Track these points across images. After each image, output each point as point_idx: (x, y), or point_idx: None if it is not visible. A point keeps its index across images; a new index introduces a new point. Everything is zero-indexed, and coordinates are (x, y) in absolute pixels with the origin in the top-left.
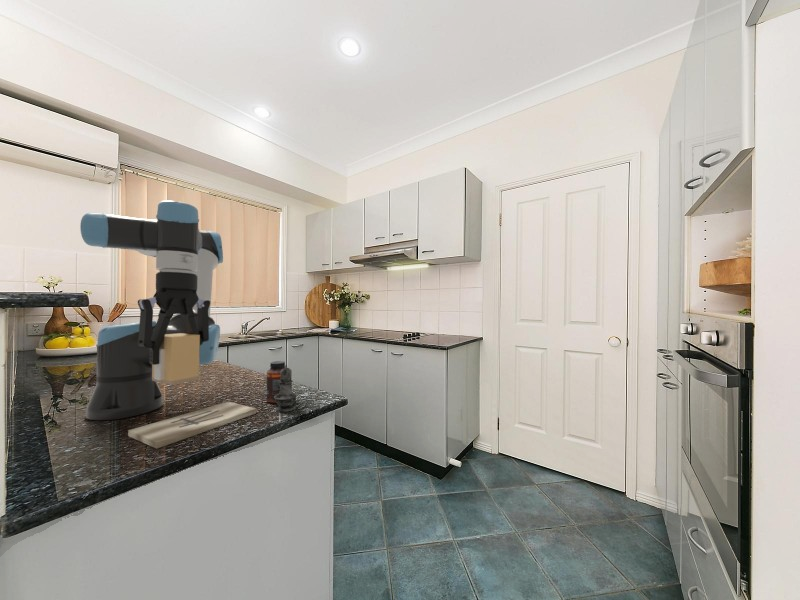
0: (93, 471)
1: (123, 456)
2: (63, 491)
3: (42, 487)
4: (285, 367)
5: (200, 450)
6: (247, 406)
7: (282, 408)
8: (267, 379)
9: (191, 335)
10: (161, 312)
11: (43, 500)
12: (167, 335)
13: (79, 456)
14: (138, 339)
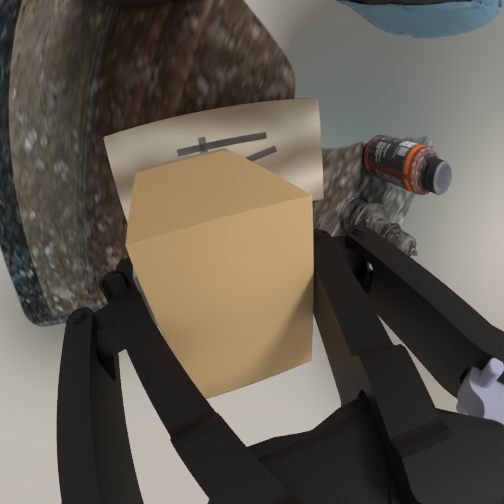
0: (66, 267)
1: (94, 240)
2: (50, 299)
3: (27, 273)
4: (411, 252)
5: None
6: (322, 170)
7: (350, 217)
8: (399, 163)
9: (281, 368)
10: (204, 469)
11: (39, 306)
12: (199, 320)
13: (42, 190)
14: (64, 338)
